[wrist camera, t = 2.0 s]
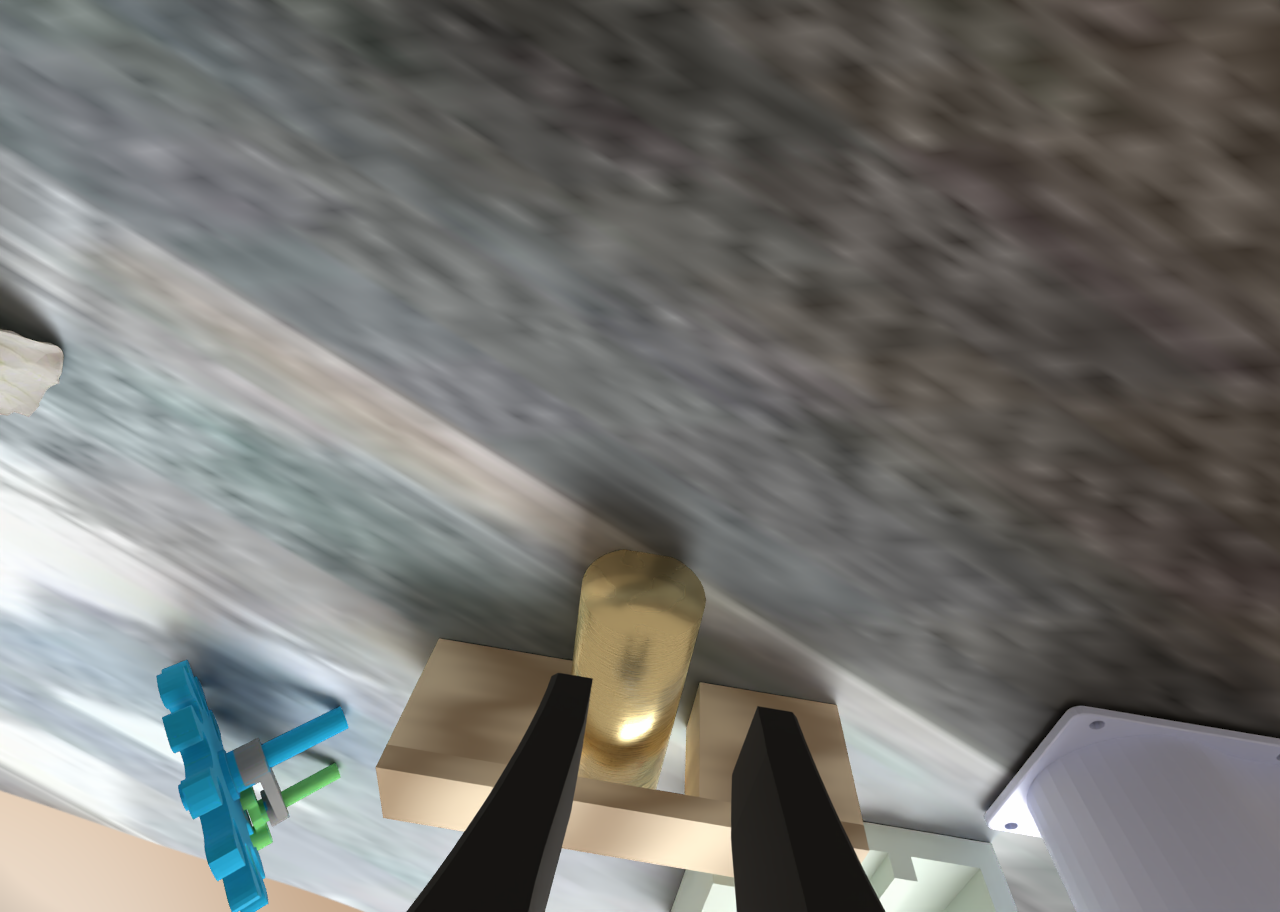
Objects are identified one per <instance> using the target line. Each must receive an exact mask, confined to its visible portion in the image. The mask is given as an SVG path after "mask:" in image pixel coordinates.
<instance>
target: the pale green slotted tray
mask: <svg viewBox="0 0 1280 912" xmlns="http://www.w3.org/2000/svg"><path fill="white" fill-rule="evenodd" d="M863 824H864V828H865V833H866V837H867V842H868V846H869V852H868V854H867V856H866V857H865V859H864V860H863V862H862V863H861V865H862V867H863V869H864V871H865V873H866V875H867V877H868V879H869V881H870V883H871V885H872V887H873V889H874V891H875V892H876V894H877V896H878V898H879V900H880V902H881V904H882V906H883V908H884V909H885V911H886V912H1018V910H1017V907H1016V905H1015V902H1014V900H1013V897H1012V895H1011V892H1010V890H1009V887H1008V884H1007V882H1006V879H1005V877H1004V874H1003V872H1002V869H1001V867H1000V864H999V861H998V859H997V856H996V854H995V851H994V849H993V846H992V844H991V843H986V842H980V841H974V840H968V839H962V838H957V837H951V836H945V835H939V834H933V833H927V832H921V831H915V830H909V829H903V828H897V827H891V826H886V825H880V824H874V823H868V822H863ZM671 912H737V908H736V896H735V884H734V877H729V876H723V875H717V874H711V873H705V872H699V871H693V870H688V869H686V870H685V873H684V876H683V879H682V881H681V884H680V887H679V890H678V893H677V895H676V898H675V901H674V904H673V907H672V909H671Z"/></svg>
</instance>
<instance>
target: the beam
mask: <svg viewBox="0 0 1280 912" xmlns="http://www.w3.org/2000/svg"><path fill="white" fill-rule="evenodd" d="M572 662H573V661H571V660H565V659H559V658H553V657H547V656H541V655H535V654H529V653H523V652H517V651H511V650H505V649H499V648H493V647H488V646H482V645H476V644H470V643H464V642H458V641H452V640H446V639H440V638H439V640H438V642H437V644H436V646H435V648H434V650H433V652H432V654H431V656H430V658H429V660H428V662H427V664H426V666H425V668H424V670H423V672H422V674H421V676H420V678H419V680H418V682H417V684H416V686H415V688H414V690H413V692H412V694H411V697H410V699H409V701H408V703H407V705H406V707H405V709H404V711H403V713H402V715H401V717H400V719H399V721H398V723H397V725H396V727H395V729H394V731H393V733H392V735H391V737H390V739H389V741H388V743H387V745H386V747H385V749H384V751H383V754H382V756H381V758H380V760H379V762H378V764H377V766H376V772H377V779H378V786H379V793H380V799H381V806H382V813H383V818H387V819H393V820H399V821H405V822H411V823H416V824H422V825H428V826H434V827H440V828H446V829H452V830H458V831H464V832H465V830H466V829H467V827H468V826H469V824H470V823H471V821H472V820H473V818H474V817H475V815H476V814H477V812H478V811H479V809H480V808H481V806H482V805H483V803H484V802H485V800H486V799H487V797H488V796H489V794H490V792H491V791H492V789H493V788H494V786H495V784H496V783H497V781H498V779H499V778H500V776H501V774H502V772H503V771H504V769H505V767H506V766H507V764H508V762H509V761H510V759H511V757H512V756H513V754H514V752H515V751H516V749H517V747H518V745H519V744H520V742H521V740H522V738H523V736H524V734H525V733H526V731H527V729H528V727H529V725H530V723H531V721H532V719H533V717H534V715H535V713H536V711H537V709H538V707H539V705H540V703H541V701H542V698H543V696H544V694H545V692H546V689H547V687H548V684H549V681H550V679H551V676H552V675H555V674H557V673H564V674H570V675H571V671H572ZM757 706H760V707H766V708H772V709H778V710H784V711H790V712H793V713H794V715H795V716H796V717H797V720H798V722H799V725H800V728H801V730H802V733H803V735H804V738H805V740H806V743H807V745H808V748H809V750H810V753H811V755H812V758H813V760H814V762H815V765H816V767H817V770H818V772H819V774H820V777H821V779H822V781H823V783H824V786H825V788H826V790H827V793H828V795H829V797H830V799H831V802H832V804H833V806H834V808H835V810H836V813H837V815H838V817H839V819H840V821H841V823H842V825H843V828H844V830H845V832H846V834H847V836H848V838H849V840H850V842H851V844H852V846H853V848H854V850H855V852H856V855H857V857H858V859H859V861H860V863H862V862H863V860H864V859H865V857H866V856H867V854H868V852H869V846H868V842H867V837H866V833H865V828H864V824H863V819H862V815H861V811H860V806H859V802H858V797H857V793H856V788H855V784H854V779H853V775H852V770H851V766H850V762H849V757H848V753H847V748H846V744H845V739H844V735H843V730H842V726H841V721H840V717H839V713H838V708H837V705H833V704H827V703H821V702H815V701H809V700H803V699H797V698H791V697H785V696H779V695H773V694H767V693H761V692H755V691H749V690H744V689H738V688H732V687H726V686H720V685H714V684H708V683H702V682H700V683H699V687H698V690H697V694H696V697H695V700H694V704H693V707H692V711H691V714H690V718H689V721H688V725H687V728H686V763H685V795H683V794H677V793H671V792H666V791H660V790H654V789H648V788H642V787H636V786H630V785H624V784H618V783H612V782H606V781H600V780H595V779H589V778H583V777H577V782H576V788H575V793H574V799H573V804H572V810H571V814H570V818H569V822H568V826H567V830H566V833H565V837H564V841H563V845H562V848H564V849H570V850H576V851H581V852H587V853H593V854H599V855H605V856H611V857H617V858H623V859H629V860H635V861H640V862H646V863H652V864H658V865H664V866H670V867H676V868H682V869H688V870H693V871H699V872H705V873H711V874H717V875H723V876H729V877H734V872H733V860H732V847H731V789H732V773H733V770H734V767H735V765H736V762H737V759H738V757H739V754H740V751H741V749H742V746H743V743H744V741H745V738H746V735H747V733H748V730H749V727H750V725H751V722H752V719H753V717H754V714H755V711H756V709H757Z"/></svg>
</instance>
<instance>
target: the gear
mask: <svg viewBox="0 0 1280 912" xmlns="http://www.w3.org/2000/svg"><path fill="white" fill-rule="evenodd" d="M157 683H158V689H159V693H160V697H161V699H162V701H163V704H164V706H165V707H166V708H167V709H169V710H170V712H171V714H169V715H166V716H164V717H162V719H163V723H164V727H165V731H166V734H167V737H168V741H169V744H170V747H171V749H172V751H173V752H174V753H176V752H179V751H180V753H181V755H182V758H183V762H184V766H185V777H186V778H185V780H183V781H181V784H180V785H178V789H179V794H180V797H181V800H182V803H183V806H184V808H185V809H186V811H188V810H189V811H190V814H191V816H192V818H193V819H195V818H197V817H199V816H200V820H201V824H202V829H203V834H204V843H205V853H206V858H207V861H208V865H209V867H210V869H211V871H212V873H213V875H214V877H215V878H216V880H217V881H219V880H221V879H223V883H224V887H225V891H226V895H227V899H228V903H229V906H230V909H231V911H232V912H238V911H240V912H255V911H257V910H258V909H260V908H262V907H263V906H265V905H266V904H268V897H267V892H266V888H265V885H264V882H263V879H264V878H265V874H264V870H263V866H262V862H261V859H260V856H259V853H258V850H260V849H262V848H264V847H265V846H267V845H269V844H270V843H272V842H273V841H272V837H271V834H270V831H269V828H268V825H267V823H266V822H267V821H270V823H271V825H272V827H273V826H275V825H276V824H278V823H280V822H282V821H284V820H285V819H287V818H289V813H288V810H287V807H288V806H290V805H292V804H293V803H295V802H297V801H299V800H301V799H302V798H304V797H306V796H308V795H310V794H311V793H313V792H315V791H317V790H319V789H321V788H322V787H324V786H326V785H328V784H330V783H331V782H333V781H335V780H337V779H339V778H340V774H339V771H338V768H337V766H336V763H334V764H332V765H330V766H328V767H326V768H324V769H323V770H321V771H319V772H317V773H315V774H313V775H311V776H310V777H308V778H306V779H304V780H302V781H300V782H298V783H297V784H295V785H293V786H291V787H289V788H287V789H285V790H284V791H282V792H281V790H280V787H279V785H278V783H277V780H276V778H275V775H274V773H273V771H272V768H271V767H273V766H275V765H277V764H279V763H281V762H283V761H285V760H287V759H289V758H291V757H293V756H295V755H297V754H299V753H301V752H303V751H305V750H307V749H309V748H310V747H312V746H314V745H316V744H318V743H320V742H322V741H324V740H326V739H328V738H330V737H332V736H334V735H336V734H338V733H340V732H342V731H344V730H346V729H348V724H347V721H346V718H345V716H344V713H343V711H342V709H341V707H340V706H339V707H337V708H335V709H333V710H331V711H329V712H327V713H325V714H323V715H321V716H319V717H317V718H315V719H313V720H311V721H309V722H307V723H305V724H303V725H300V726H298V727H296V728H294V729H292V730H290V731H288V732H286V733H284V734H282V735H280V736H278V737H276V738H274V739H272V740H270V741H268V742H266V743H264V744H261V742H260V740H259V738H257V739H255V740H253V741H251V742H249V743H247V744H245V745H243V746H240V747H238V748H236V749H234V750H232V751H230V752H228V753H226V751H225V750H224V748H223V745H222V740H221V733H220V730H219V726H218V724H217V721H216V719H215V716H214V714H213V712H212V710H208V706H207V703H206V699H205V695H204V692H203V689H202V686H201V683H200V681H199V679H198V678H197V676H195V677H194V676H193V673H192V670H191V668H190V665H189V662H188V660H185V661H182V662H180V663H177V664H175V665H172V666H170V667H167V668H164V669H162V674H160V675H157ZM259 782H261V784H262V786H263V789H264V790H262V791H260V793H261V797H262V799H260V800H258V801H257V799H256V796H255V793H254V790H253V787H252V786H253V785H255V784H257V783H259ZM247 810H248V812H247ZM248 813H249V815H250V818H251V821H252V823H253V827H252V824H251V821H250V818H249V815H248Z"/></svg>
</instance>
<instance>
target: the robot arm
mask: <svg viewBox="0 0 1280 912" xmlns="http://www.w3.org/2000/svg"><path fill="white" fill-rule="evenodd" d="M592 681H593V678H587V677H581V676H576V675H570V674H564V673H557V674H555V675H552V676H551V679H550V681H549V684H548V687H547V689H546V692H545V694H544V696H543V698H542V701H541V703H540V705H539V707H538V709H537V711H536V713H535V715H534V717H533V719H532V721H531V723H530V725H529V727H528V729H527V731H526V733H525V734H524V736H523V738H522V740H521V742H520V744H519V745H518V747H517V749H516V751H515V752H514V754H513V756H512V757H511V759H510V761H509V762H508V764H507V766H506V767H505V769H504V771H503V772H502V774H501V776H500V778H499V779H498V781H497V783H496V784H495V786H494V788H493V789H492V791H491V792H490V794H489V796H488V797H487V799H486V800H485V802H484V803H483V805H482V806H481V808H480V809H479V811H478V812H477V814H476V815H475V817H474V818H473V820H472V821H471V823H470V824H469V826H468V827H467V829H466V830H465V832H464V833H463V835H462V836H461V838H460V839H459V840H458V842H457V843H456V845H455V846H454V848H453V849H452V851H451V852H450V854H449V855H448V856H447V858H446V859H445V861H444V862H443V863H442V865H441V866H440V868H439V869H438V870H437V872H436V873H435V875H434V876H433V877H432V879H431V880H430V881H429V883H428V884H427V885H426V887H425V888H424V889H423V891H422V892H421V893H420V895H419V896H418V897H417V899H416V900H415V901H414V903H413V904H412V905H411V907H410V908H409V909H408V910H407V912H545V909H546V905H547V901H548V898H549V894H550V890H551V886H552V882H553V879H554V875H555V871H556V867H557V864H558V860H559V856H560V852H561V848H562V845H563V841H564V837H565V833H566V830H567V826H568V822H569V818H570V814H571V810H572V804H573V799H574V793H575V788H576V782H577V777H578V771H579V765H580V760H581V754H582V748H583V742H584V735H585V728H586V721H587V715H588V708H589V701H590V695H591V688H592ZM984 819H985V821H986V824H987V826H988V827H990V828H991V829H994V830H1000V831H1006V832H1012V833H1018V834H1024V835H1030V836H1035V837H1041V838H1042V839H1043V841H1044V843H1045V845H1046V847H1047V850H1048V852H1049V854H1050V856H1051V858H1052V860H1053V863H1054V865H1055V867H1056V869H1057V871H1058V873H1059V875H1060V878H1061V880H1062V882H1063V884H1064V886H1065V888H1066V891H1067V893H1068V895H1069V897H1070V899H1071V901H1072V904H1073V906H1074V908H1075V910H1076V912H1280V739H1279V738H1273V737H1267V736H1261V735H1255V734H1249V733H1243V732H1237V731H1231V730H1225V729H1219V728H1213V727H1207V726H1201V725H1195V724H1189V723H1183V722H1177V721H1171V720H1165V719H1159V718H1154V717H1148V716H1142V715H1136V714H1130V713H1124V712H1118V711H1112V710H1106V709H1100V708H1094V707H1088V706H1075V707H1072V708H1070V709H1068V710H1067V711H1066V712H1065V713H1064V715H1063V716H1062V717H1061V718H1060V720H1059V721H1058V722H1057V723H1056V725H1055V726H1054V727H1053V729H1052V730H1051V731H1050V732H1049V734H1048V735H1047V736H1046V737H1045V739H1044V740H1043V741H1042V742H1041V744H1040V745H1039V746H1038V747H1037V749H1036V750H1035V751H1034V752H1033V754H1032V755H1031V756H1030V757H1029V759H1028V760H1027V761H1026V763H1025V764H1024V765H1023V766H1022V768H1021V769H1020V770H1019V771H1018V773H1017V774H1016V775H1015V776H1014V778H1013V779H1012V780H1011V781H1010V783H1009V784H1008V785H1007V786H1006V788H1005V789H1004V790H1003V791H1002V793H1001V794H1000V795H999V797H998V798H997V799H996V800H995V802H994V803H993V804H992V805H991V807H990V808H989V809H988V810H987V812H986V813H985V815H984ZM731 847H732V860H733V872H734V884H735V896H736V908H737V912H886V911H885V909H884V908H883V906H882V904H881V902H880V900H879V898H878V896H877V894H876V892H875V891H874V889H873V887H872V885H871V883H870V881H869V879H868V877H867V875H866V873H865V871H864V869H863V867H862V865H861V863H860V861H859V859H858V857H857V855H856V852H855V850H854V848H853V846H852V844H851V842H850V840H849V838H848V836H847V834H846V832H845V830H844V828H843V825H842V823H841V821H840V819H839V817H838V815H837V813H836V810H835V808H834V806H833V804H832V802H831V799H830V797H829V795H828V793H827V790H826V788H825V786H824V783H823V781H822V779H821V777H820V774H819V772H818V770H817V767H816V765H815V762H814V760H813V758H812V755H811V753H810V750H809V748H808V745H807V743H806V740H805V738H804V735H803V733H802V730H801V728H800V725H799V722H798V720H797V717H796V716H795V715H794V713H793V712H790V711H784V710H778V709H772V708H766V707H760V706H757V709H756V711H755V714H754V717H753V719H752V722H751V725H750V727H749V730H748V733H747V735H746V738H745V741H744V743H743V746H742V749H741V751H740V754H739V757H738V759H737V762H736V765H735V767H734V770H733V773H732V789H731Z"/></svg>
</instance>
